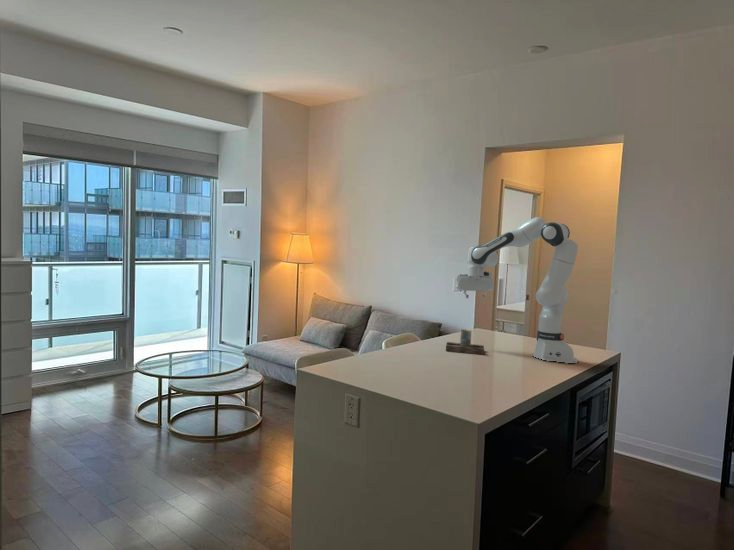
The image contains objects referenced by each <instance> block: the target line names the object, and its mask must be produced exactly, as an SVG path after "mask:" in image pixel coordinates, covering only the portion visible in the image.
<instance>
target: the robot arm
mask: <svg viewBox="0 0 734 550" xmlns="http://www.w3.org/2000/svg"><path fill="white" fill-rule="evenodd" d="M570 233H571V232H570V229H569V227H568V226H567V225H565V224H564V223H560V222H557V221H556V222H555V221H554V222H553V221H552V222H548V223H547V222H546V220H545V219H544V218H542V217H541V216H535V217H533V218H531V219H529V220H527V221H525V222H523V223H521V224H520V225H519V226H516V227H515V228H514V229H512V230H511V231H508V232H505V233H503V234H501V235H500V236H497V237H495V238H494V239H492V240H490V241H489V242H487V243H486V242H485V243H484V244H482V245H474V246H471V247H469V249H468V251H467V274H466V273H465V274H462V273H461V274H459V275H457V277H456V281H457V290H458V291H463V293H464V295H465V299H469V294H467V291H469V292H470V291H471V292H472V291H473V292H475V291H478V292H481V291H482V292H483V291H484V294H483V295H482V299H486V295H487V293H488V291H489V292H490V291H491V292H492V291H494V290H495V286H494V279H493V278H492V273H491V272H490V271H486V270H484V268H494V267H496V266H497V265H498V264H499V261H500V256H499V254H498V253H497V251H499V250H501V249H504V248H507V247H516V248H523V247H526V246H529V245H530V244H532V243H533V242H535V241H537V239H540V238H542V239H543V241H544V242H546V243H547V244H549V245H550V246H552V247H554V253H553V257H552V258H551V262H550V265H549V269H548V271H547V273H546V274H545V277H544V279H543V280H542V283H540V284H541V285H540V286H539V288H538V289H537V290H536V292H535V301H536V302H537V303H538V304H539V305H541V306H542V309H541V312H540V313H539V317H538V329H537V331H536V345H535V349H534V352H533V355H532V357H533V356H534V357H533V358H535V357H536V358H535V359H538V358H539V360H541V359H542V360H541V361H543V360H547V361H546V362H549V361H557V362H556V363H558V362H565V363H564V364H568V363H576V364H578V363H577V362H579V359H578V358H577V357H575V352H574V350H573V347H572V346H570V345H569V344H568V343H567V342H566V341H565V340H564V339H565V335H564V333H562V332H561V327H562V325H561V324H562V317H563V313H564V310H565V305H566V301H567V299H568V298H569V291H568V290H567V288H566V287H565V286H566V284H567V282H568V281H569V279H570V277H571V275H572V272H573V269H574V266H575V262H576V259H577V254H578V250H579V249H578V248H579V247H578V244H577V242H575V241H574V240H572V239H570Z"/></svg>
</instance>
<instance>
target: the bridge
mask: <svg viewBox="0 0 734 550" xmlns="http://www.w3.org/2000/svg"><path fill="white" fill-rule="evenodd" d="M445 351H446V352H450V351H452V352H453V353H461V352H462V354H463V353H465V354H472V353H473V354H475V355H484V354H485V345H484V344H472V343H471V345H470V347H468V346H460V342H452V341H447V342H446V345H445ZM452 352H451V353H452Z"/></svg>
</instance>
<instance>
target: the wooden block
mask: <svg viewBox="0 0 734 550" xmlns="http://www.w3.org/2000/svg"><path fill="white" fill-rule="evenodd" d="M471 341H472V329H466V328H465V329H464V328H461V330H460V340H459V343H460V346H468V347H470V345H471V344H472V343H471Z"/></svg>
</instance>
